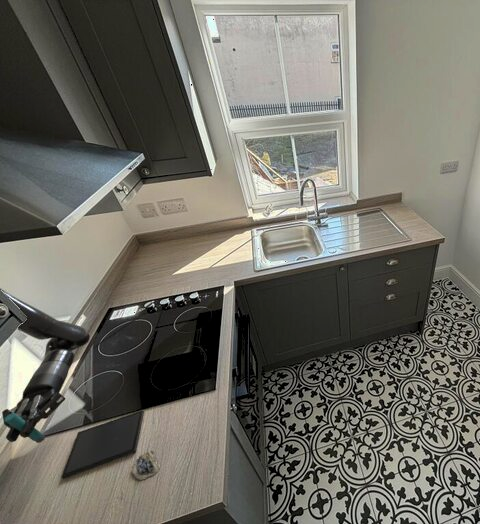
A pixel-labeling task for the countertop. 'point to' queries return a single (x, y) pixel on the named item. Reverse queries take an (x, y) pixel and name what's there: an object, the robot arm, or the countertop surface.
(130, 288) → the countertop surface
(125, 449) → the tablet
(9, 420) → the teal bar
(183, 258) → the countertop surface
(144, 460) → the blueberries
